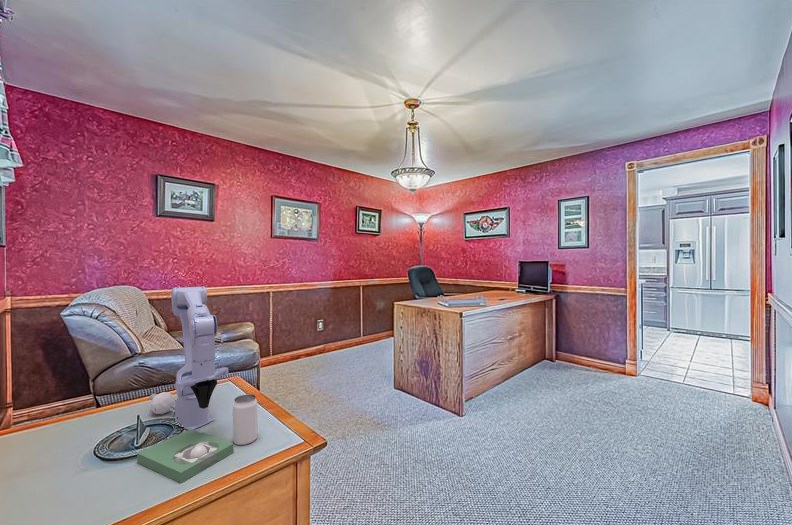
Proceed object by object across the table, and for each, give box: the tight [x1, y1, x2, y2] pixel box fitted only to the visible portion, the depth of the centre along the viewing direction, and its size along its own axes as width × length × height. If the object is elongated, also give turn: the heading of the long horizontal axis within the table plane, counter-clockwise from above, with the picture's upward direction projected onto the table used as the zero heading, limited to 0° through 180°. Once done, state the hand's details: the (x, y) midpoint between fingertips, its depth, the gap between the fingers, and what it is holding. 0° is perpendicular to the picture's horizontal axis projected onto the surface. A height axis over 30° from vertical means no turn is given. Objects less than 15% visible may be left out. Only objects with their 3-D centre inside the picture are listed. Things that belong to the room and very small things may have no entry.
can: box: [232, 393, 259, 446], centre depth 99 cm, size 6×6×12 cm
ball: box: [189, 445, 207, 459], centre depth 88 cm, size 4×4×4 cm
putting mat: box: [136, 429, 235, 484], centre depth 90 cm, size 18×14×2 cm
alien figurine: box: [149, 391, 176, 417], centre depth 116 cm, size 7×7×12 cm
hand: (203, 407), depth 98 cm, fingers closed
